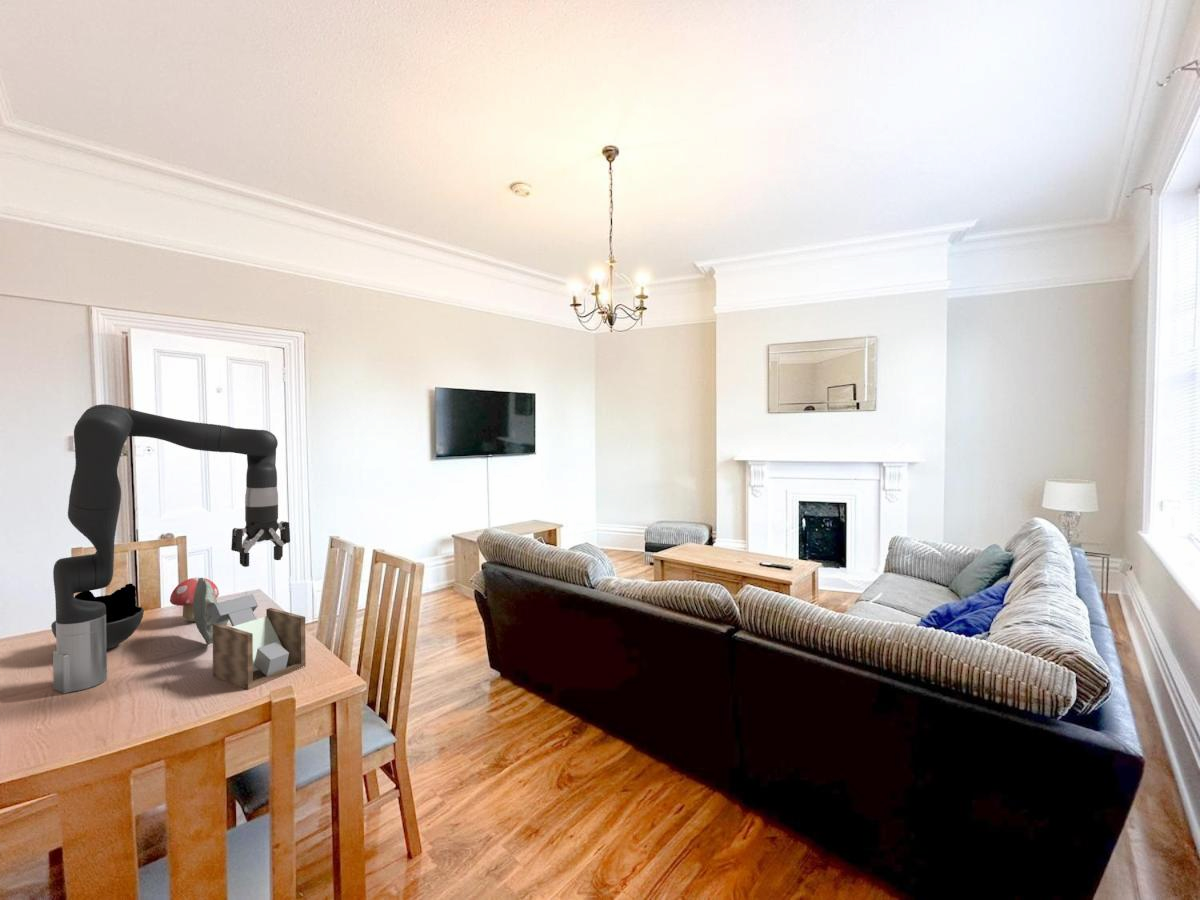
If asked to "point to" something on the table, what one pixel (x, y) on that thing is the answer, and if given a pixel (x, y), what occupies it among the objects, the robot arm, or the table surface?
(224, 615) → the trapdoor
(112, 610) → the coal bowl
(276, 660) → the gray block
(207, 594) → the rock
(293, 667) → the wooden bench shelf
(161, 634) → the table surface
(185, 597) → the decorative mushroom
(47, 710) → the table surface
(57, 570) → the robot arm
